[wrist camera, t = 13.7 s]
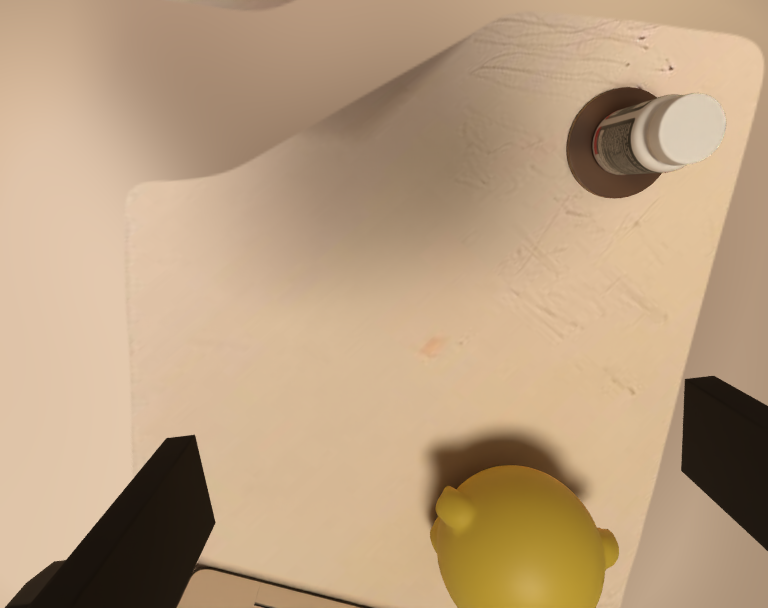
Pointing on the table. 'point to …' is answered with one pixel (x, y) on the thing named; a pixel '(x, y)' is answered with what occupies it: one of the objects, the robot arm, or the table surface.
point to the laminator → (247, 593)
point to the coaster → (582, 146)
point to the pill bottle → (660, 134)
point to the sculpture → (519, 542)
